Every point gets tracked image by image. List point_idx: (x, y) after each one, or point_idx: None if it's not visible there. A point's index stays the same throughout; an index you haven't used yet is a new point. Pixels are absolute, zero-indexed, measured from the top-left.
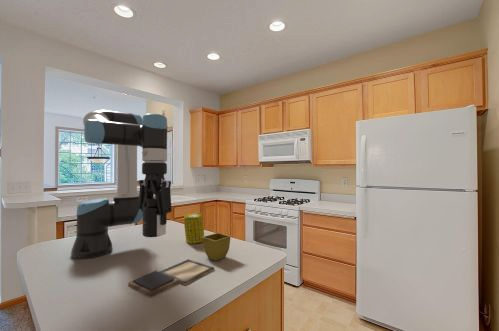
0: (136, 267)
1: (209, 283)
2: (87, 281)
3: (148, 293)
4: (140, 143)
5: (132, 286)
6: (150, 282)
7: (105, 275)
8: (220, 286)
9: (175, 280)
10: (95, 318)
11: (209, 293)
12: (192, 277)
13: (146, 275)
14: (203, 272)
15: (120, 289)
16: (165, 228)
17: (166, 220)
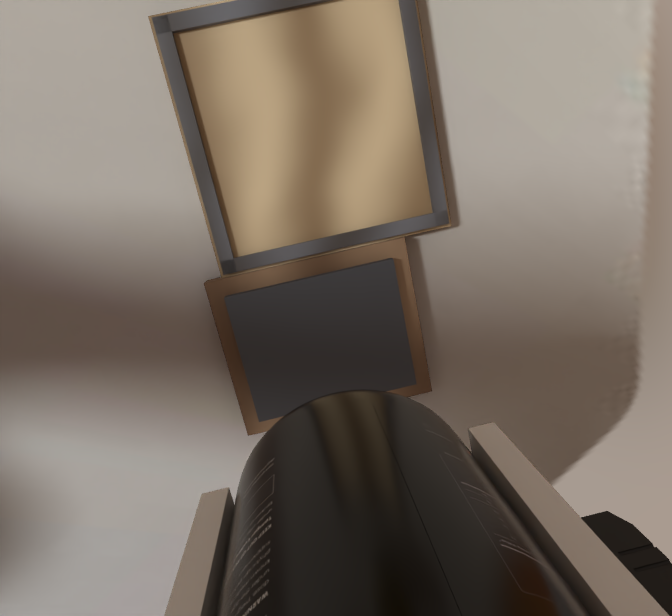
0: (32, 335)
1: (526, 112)
2: (70, 555)
3: (414, 393)
4: None
5: None
6: (348, 366)
7: (46, 485)
8: (593, 88)
9: (400, 253)
10: None
11: (599, 174)
12: (432, 161)
13: (252, 355)
14: (426, 71)
15: None
16: (526, 461)
17: (659, 550)
